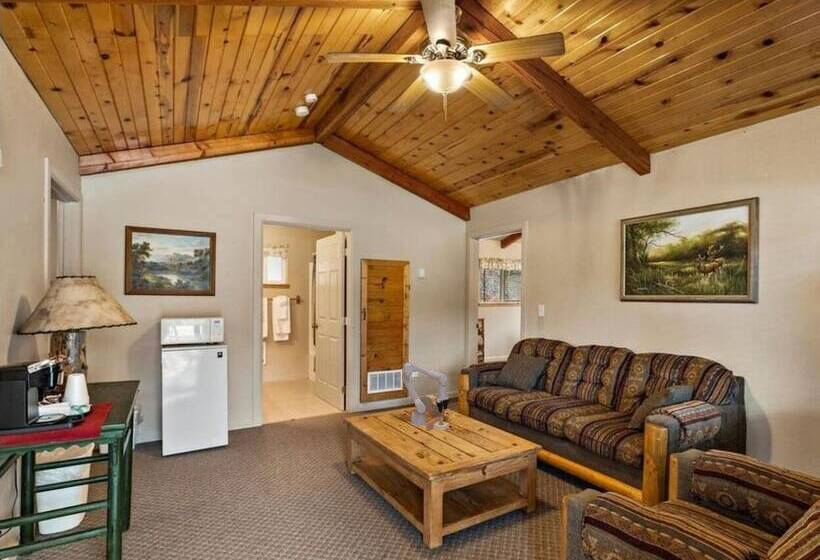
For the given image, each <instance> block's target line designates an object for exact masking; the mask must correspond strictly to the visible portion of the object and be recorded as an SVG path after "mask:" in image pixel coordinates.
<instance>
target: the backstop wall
mask: <svg viewBox="0 0 820 560" xmlns="http://www.w3.org/2000/svg"><path fill="white" fill-rule="evenodd" d="M439 417H443V416H441V415H440V416H438V417H437V416H435V418H432V419H431V420H429V421H428V422H426V432H427V431H428V432H430V431H431V430H434V428H433V425H434V424H435V423H437V422H439Z"/></svg>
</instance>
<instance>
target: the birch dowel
mask: <svg viewBox="0 0 820 560" xmlns="http://www.w3.org/2000/svg"><path fill="white" fill-rule="evenodd" d="M443 422H444V416H442V417H439V425H443Z"/></svg>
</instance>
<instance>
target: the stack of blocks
mask: <svg viewBox="0 0 820 560" xmlns="http://www.w3.org/2000/svg"><path fill="white" fill-rule="evenodd" d="M438 398H439V396H435V395H432V394H424V395H423V403H424V406H425V407H426V410H425V411H426V413H427V412H428V413H427V414H429V413H430V415H433V416H434V417H438V416H440V415H441V416H442V417H445V412H446V411H445V410H444V408H443V410H442V413H441V412H439V410H438V406H437V404H436V402H437V400H438Z"/></svg>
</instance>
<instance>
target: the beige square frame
mask: <svg viewBox="0 0 820 560" xmlns="http://www.w3.org/2000/svg"><path fill="white" fill-rule="evenodd" d="M449 428H450V423H449V422H445V421H443V425H439V422H437V423H435V424H434V425H433V430H434V429H435V430H439V431H440V430H442V431H445V430H447V429H449Z"/></svg>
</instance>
